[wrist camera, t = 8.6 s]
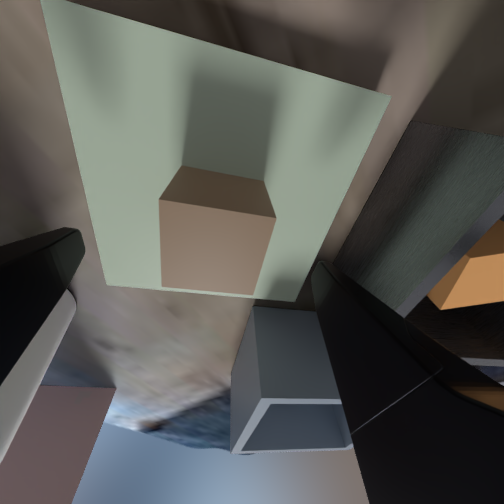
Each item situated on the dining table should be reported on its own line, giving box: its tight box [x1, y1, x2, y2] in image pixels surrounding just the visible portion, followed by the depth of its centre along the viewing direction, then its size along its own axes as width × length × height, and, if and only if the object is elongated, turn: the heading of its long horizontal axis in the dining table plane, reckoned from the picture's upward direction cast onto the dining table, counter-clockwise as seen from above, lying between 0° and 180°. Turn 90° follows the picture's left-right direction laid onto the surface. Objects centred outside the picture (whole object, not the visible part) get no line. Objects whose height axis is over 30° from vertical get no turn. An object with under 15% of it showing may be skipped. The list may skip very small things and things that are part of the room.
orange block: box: [427, 219, 504, 310], centre depth 14 cm, size 4×4×4 cm
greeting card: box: [0, 385, 116, 504], centre depth 19 cm, size 11×7×15 cm, turn 39°
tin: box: [333, 121, 504, 366], centre depth 13 cm, size 12×12×6 cm
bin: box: [230, 306, 354, 454], centre depth 20 cm, size 12×12×7 cm
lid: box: [40, 0, 392, 302], centre depth 11 cm, size 13×13×6 cm
